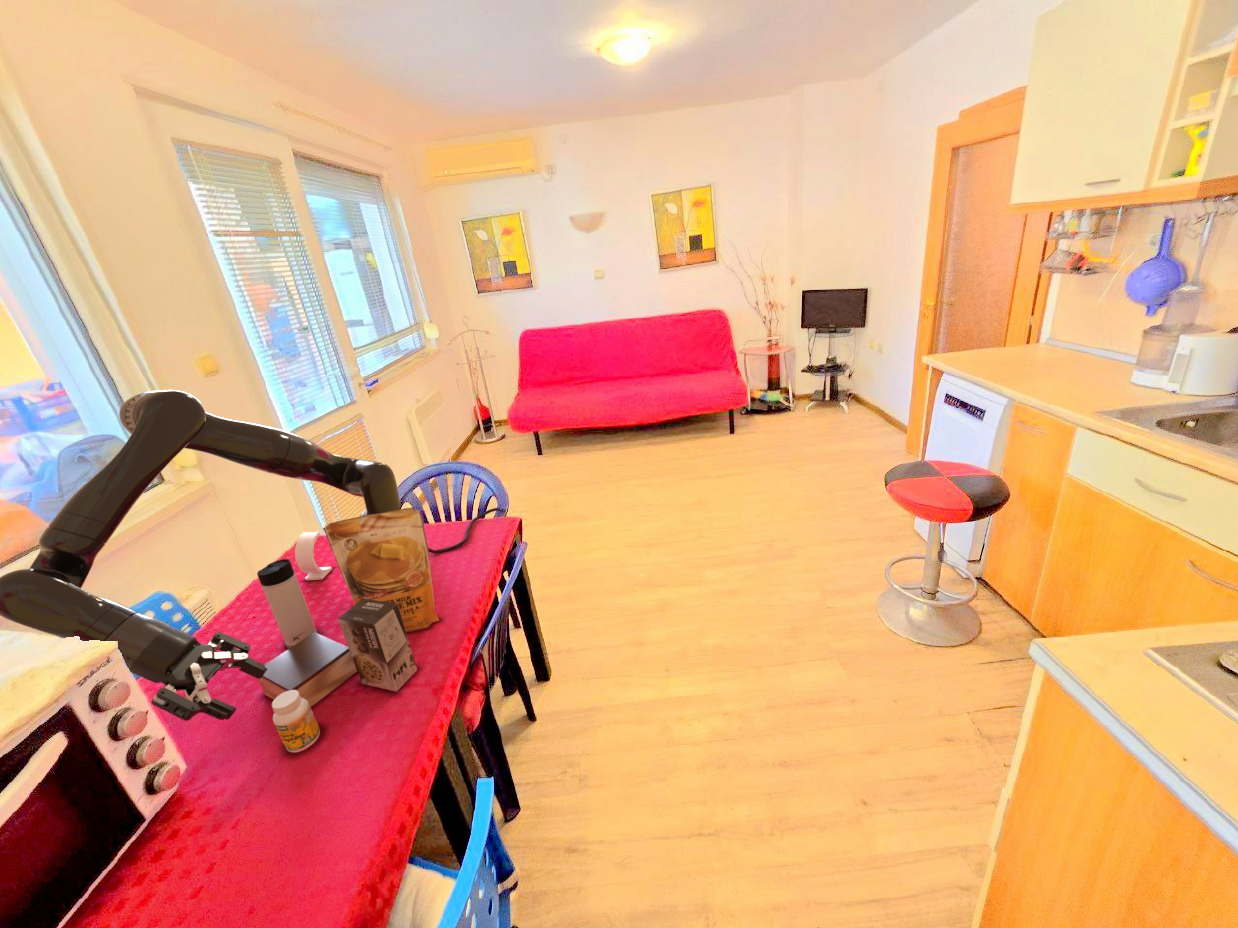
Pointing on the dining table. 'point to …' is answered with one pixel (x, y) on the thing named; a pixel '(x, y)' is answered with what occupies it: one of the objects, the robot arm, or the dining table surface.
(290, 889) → the dining table surface
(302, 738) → the supplement bottle
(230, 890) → the dining table surface
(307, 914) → the dining table surface
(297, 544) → the headphone stand
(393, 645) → the coffee box
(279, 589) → the travel mug
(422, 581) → the pancake mix bag
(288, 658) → the stand
